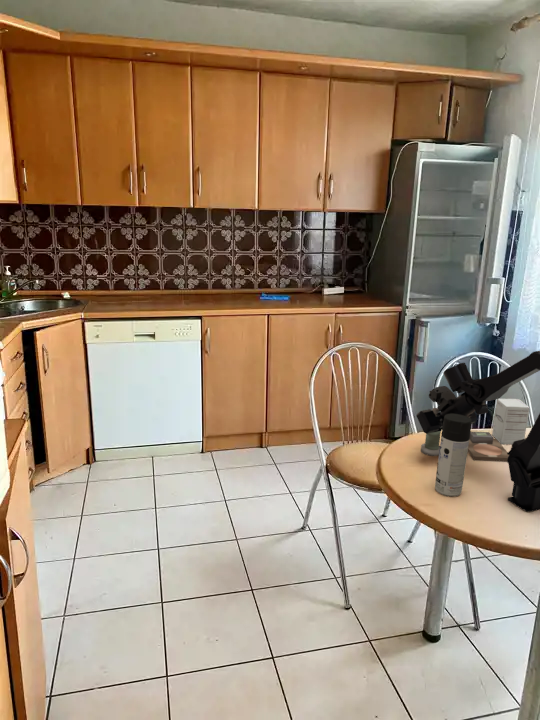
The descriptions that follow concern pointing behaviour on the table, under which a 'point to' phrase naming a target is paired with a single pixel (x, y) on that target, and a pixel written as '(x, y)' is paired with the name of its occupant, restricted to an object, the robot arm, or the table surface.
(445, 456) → the spray can
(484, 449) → the digital kitchen scale
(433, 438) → the ring stacking peg
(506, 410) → the supplement box
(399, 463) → the table surface
